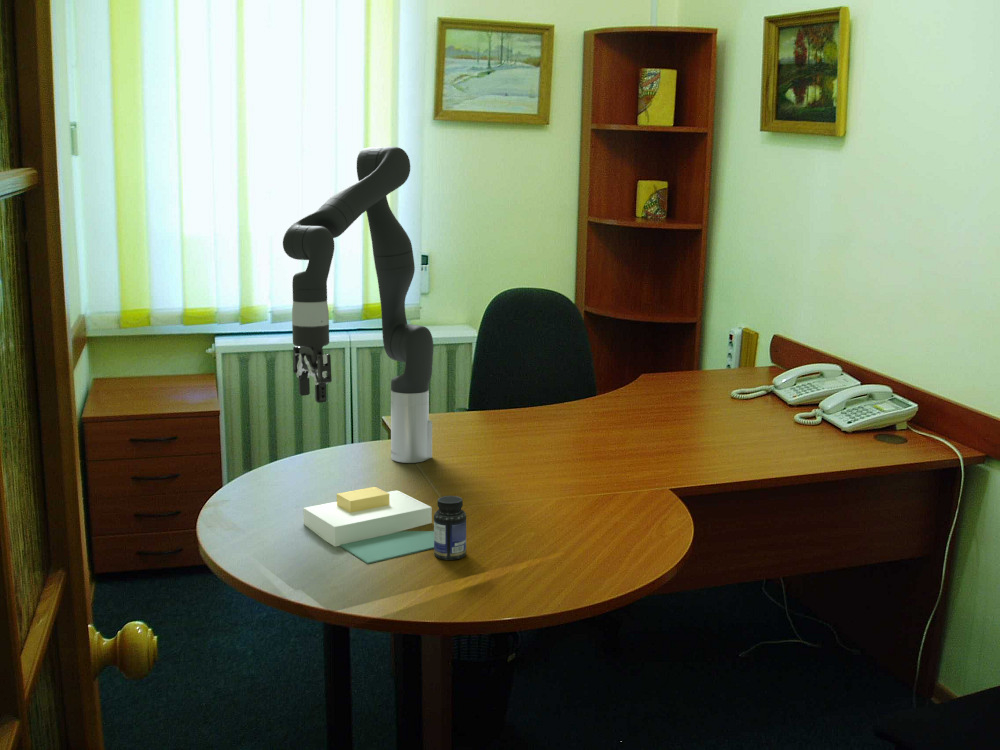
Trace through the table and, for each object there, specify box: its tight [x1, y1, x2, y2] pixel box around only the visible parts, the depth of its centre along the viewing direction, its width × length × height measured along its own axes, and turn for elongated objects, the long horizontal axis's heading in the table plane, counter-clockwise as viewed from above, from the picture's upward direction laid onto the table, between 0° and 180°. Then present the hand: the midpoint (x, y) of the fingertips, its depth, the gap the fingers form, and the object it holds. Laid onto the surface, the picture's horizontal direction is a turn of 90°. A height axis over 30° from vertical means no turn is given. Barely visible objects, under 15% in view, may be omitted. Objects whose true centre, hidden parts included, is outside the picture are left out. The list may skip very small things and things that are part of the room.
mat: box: [339, 530, 434, 565], centre depth 186 cm, size 20×11×1 cm, turn 126°
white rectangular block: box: [303, 489, 433, 548], centre depth 196 cm, size 22×14×4 cm, turn 126°
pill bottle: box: [433, 495, 467, 561], centre depth 180 cm, size 6×6×11 cm
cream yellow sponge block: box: [336, 486, 390, 513], centre depth 197 cm, size 9×6×2 cm, turn 126°
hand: (312, 398), depth 202 cm, fingers open, 8 cm apart
